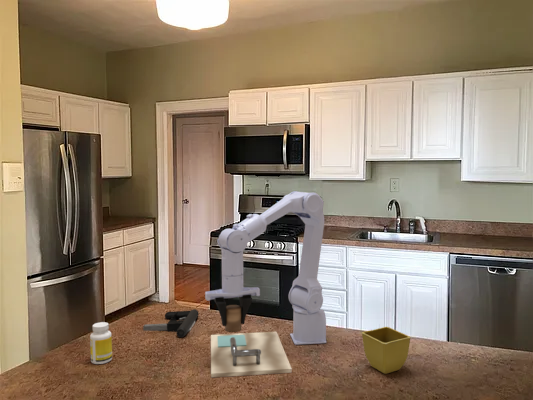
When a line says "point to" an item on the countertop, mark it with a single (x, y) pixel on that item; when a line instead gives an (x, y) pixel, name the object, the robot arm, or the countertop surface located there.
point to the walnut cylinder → (233, 318)
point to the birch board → (270, 356)
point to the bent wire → (243, 352)
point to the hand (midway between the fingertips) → (233, 323)
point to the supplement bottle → (101, 343)
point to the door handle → (176, 322)
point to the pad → (225, 340)
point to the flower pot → (386, 348)
